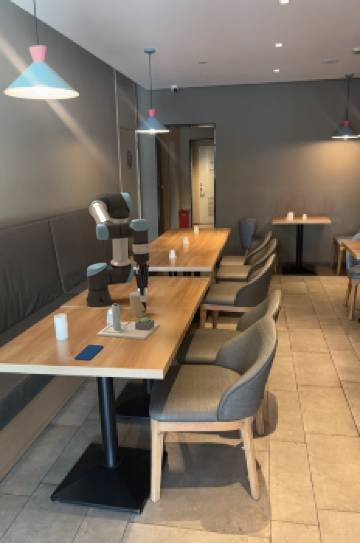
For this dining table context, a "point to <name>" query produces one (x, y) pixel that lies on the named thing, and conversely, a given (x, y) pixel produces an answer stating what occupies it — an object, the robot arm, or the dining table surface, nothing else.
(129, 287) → the dining table surface
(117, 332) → the board
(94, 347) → the smartphone
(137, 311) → the coffee cup
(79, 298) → the dining table surface
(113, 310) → the marker
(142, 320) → the button
